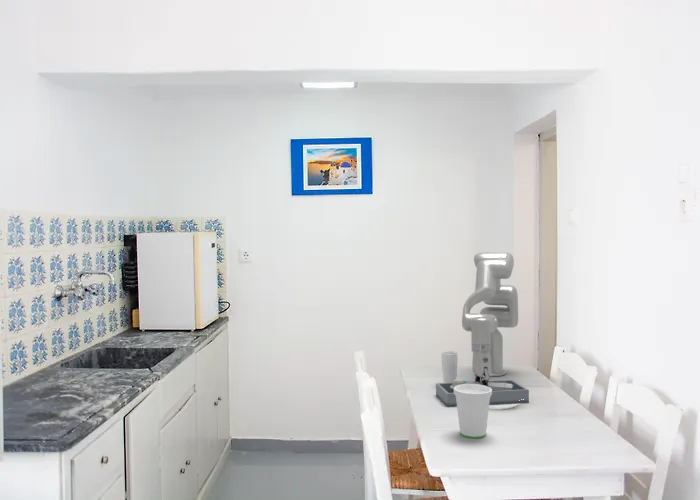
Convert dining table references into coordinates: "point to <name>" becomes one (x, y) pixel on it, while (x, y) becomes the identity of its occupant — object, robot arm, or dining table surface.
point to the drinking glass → (449, 366)
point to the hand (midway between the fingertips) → (481, 392)
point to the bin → (496, 398)
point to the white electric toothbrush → (492, 385)
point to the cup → (472, 409)
